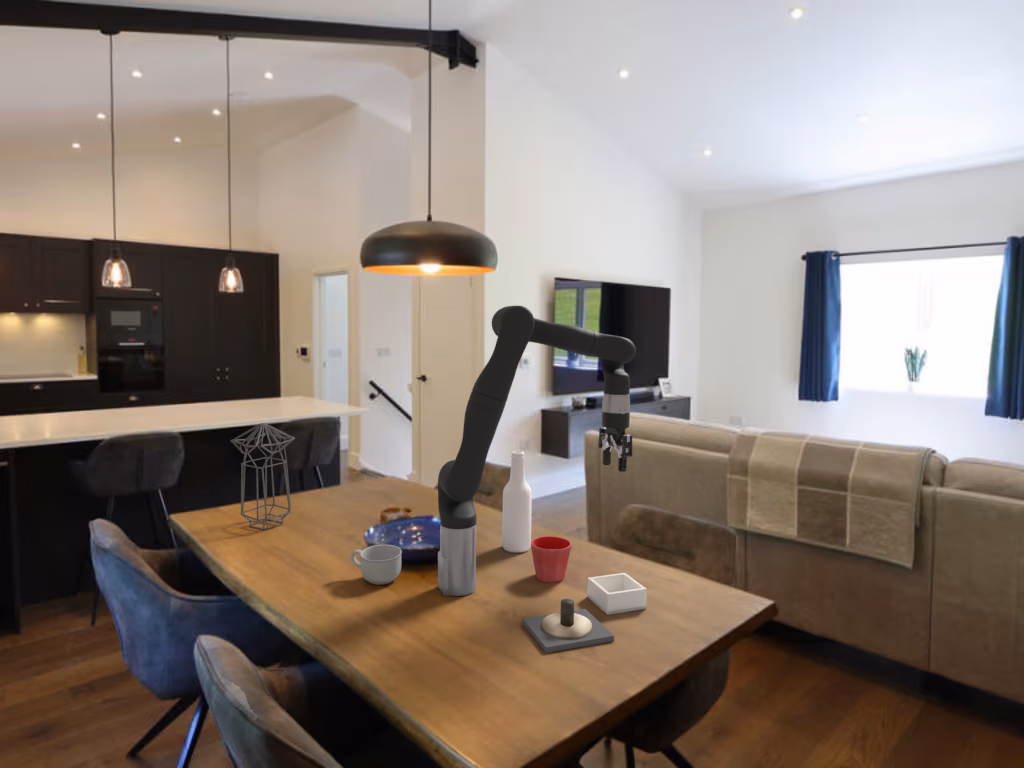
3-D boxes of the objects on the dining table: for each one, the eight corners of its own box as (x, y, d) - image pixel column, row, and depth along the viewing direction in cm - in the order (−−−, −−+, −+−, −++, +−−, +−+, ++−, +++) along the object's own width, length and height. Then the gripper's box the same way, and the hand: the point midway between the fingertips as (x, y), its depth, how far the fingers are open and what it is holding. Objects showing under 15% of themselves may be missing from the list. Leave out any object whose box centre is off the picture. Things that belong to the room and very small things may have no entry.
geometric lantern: (300, 523, 216) (297, 422, 212) (260, 537, 203) (256, 429, 199) (270, 515, 225) (267, 417, 221) (230, 527, 211) (226, 424, 207)
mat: (546, 652, 132) (546, 647, 132) (522, 623, 145) (522, 618, 145) (614, 641, 138) (614, 635, 138) (585, 613, 151) (585, 608, 151)
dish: (607, 614, 150) (607, 594, 150) (587, 596, 160) (587, 577, 160) (646, 608, 154) (646, 588, 153) (624, 591, 164) (624, 572, 163)
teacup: (409, 577, 172) (409, 548, 171) (385, 591, 162) (385, 561, 161) (367, 568, 177) (367, 540, 177) (342, 581, 168) (341, 552, 167)
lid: (554, 642, 134) (554, 615, 134) (534, 619, 145) (535, 594, 144) (600, 634, 138) (601, 608, 138) (578, 612, 148) (579, 588, 148)
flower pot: (568, 586, 166) (569, 550, 166) (527, 582, 169) (527, 547, 168) (572, 571, 177) (573, 537, 176) (533, 568, 179) (534, 534, 178)
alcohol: (531, 544, 199) (533, 449, 196) (529, 554, 190) (531, 455, 187) (503, 542, 200) (505, 448, 197) (500, 552, 191) (501, 454, 188)
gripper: (591, 407, 180) (590, 463, 182) (617, 414, 167) (615, 474, 168) (614, 406, 183) (613, 462, 184) (641, 413, 170) (639, 472, 171)
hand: (614, 468), depth 176 cm, fingers open, 8 cm apart
